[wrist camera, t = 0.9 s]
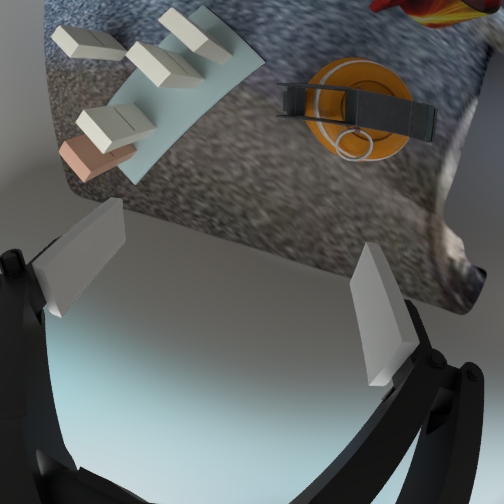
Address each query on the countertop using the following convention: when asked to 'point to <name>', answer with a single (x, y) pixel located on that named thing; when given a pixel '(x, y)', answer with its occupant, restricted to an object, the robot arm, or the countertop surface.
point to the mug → (440, 10)
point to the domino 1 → (88, 43)
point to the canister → (359, 110)
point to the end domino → (92, 157)
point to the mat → (183, 91)
